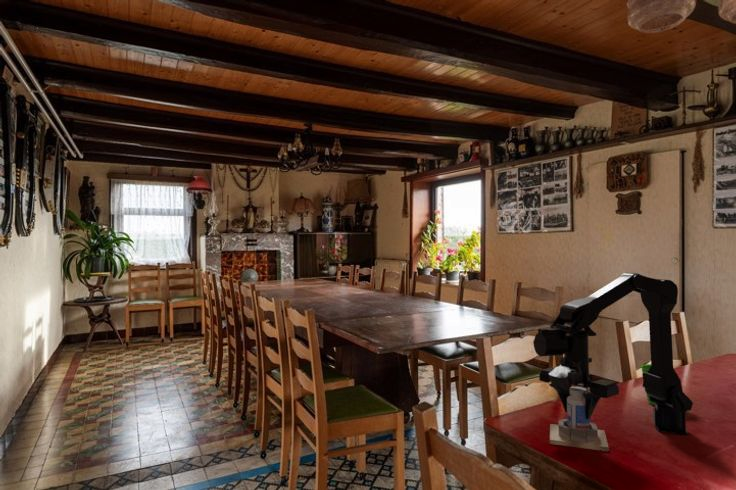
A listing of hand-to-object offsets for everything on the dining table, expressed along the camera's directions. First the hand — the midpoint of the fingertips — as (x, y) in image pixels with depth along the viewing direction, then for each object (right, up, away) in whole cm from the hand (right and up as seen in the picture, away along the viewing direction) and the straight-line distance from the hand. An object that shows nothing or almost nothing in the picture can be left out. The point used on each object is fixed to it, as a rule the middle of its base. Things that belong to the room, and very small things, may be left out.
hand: (577, 415), depth 118 cm
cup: (+36, -6, +25) cm, 44 cm away
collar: (0, -6, 0) cm, 6 cm away
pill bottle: (0, -3, 0) cm, 3 cm away
